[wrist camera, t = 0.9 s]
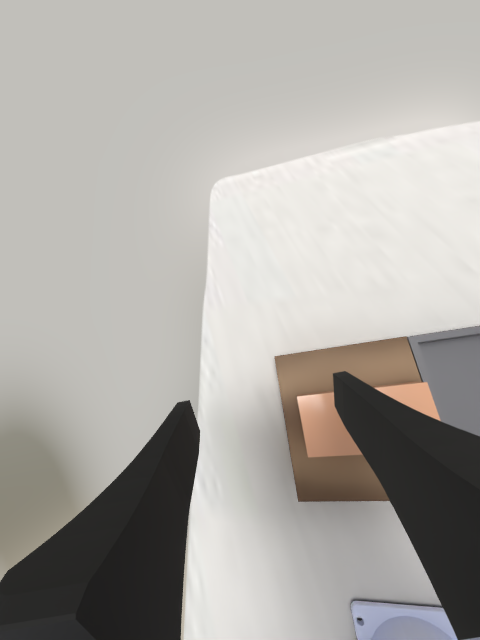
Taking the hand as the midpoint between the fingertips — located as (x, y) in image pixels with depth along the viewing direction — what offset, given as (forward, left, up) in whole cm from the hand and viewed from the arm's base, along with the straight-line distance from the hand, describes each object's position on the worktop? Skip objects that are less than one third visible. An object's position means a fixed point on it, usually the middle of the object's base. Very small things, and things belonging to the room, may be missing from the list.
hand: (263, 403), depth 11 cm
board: (-3, -6, -13) cm, 15 cm away
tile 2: (-3, -4, -10) cm, 11 cm away
